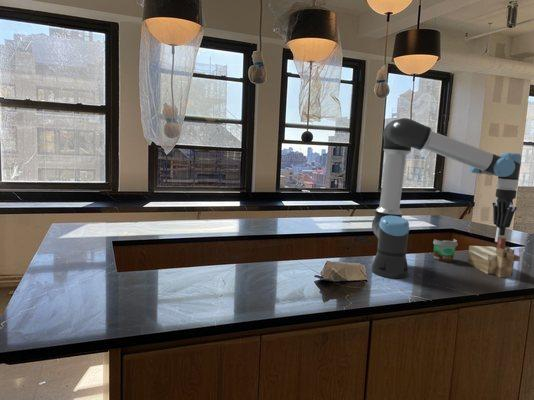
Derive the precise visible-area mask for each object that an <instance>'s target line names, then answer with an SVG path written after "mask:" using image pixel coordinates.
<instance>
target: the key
mask: <svg viewBox="0 0 534 400" xmlns="http://www.w3.org/2000/svg"><path fill="white" fill-rule="evenodd" d="M506 240H507V238H505V237H504V238H498V242H497V246H496V253H498V248H502V249H504V250H505V255H504V257H506V258H508V259H510V260H512V261H515V262H520V261H521V260H520V258H521V256H520V255H517V254H515V253H514V254H513V253H511V252H508V251H507V249H505V247H506Z"/></svg>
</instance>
